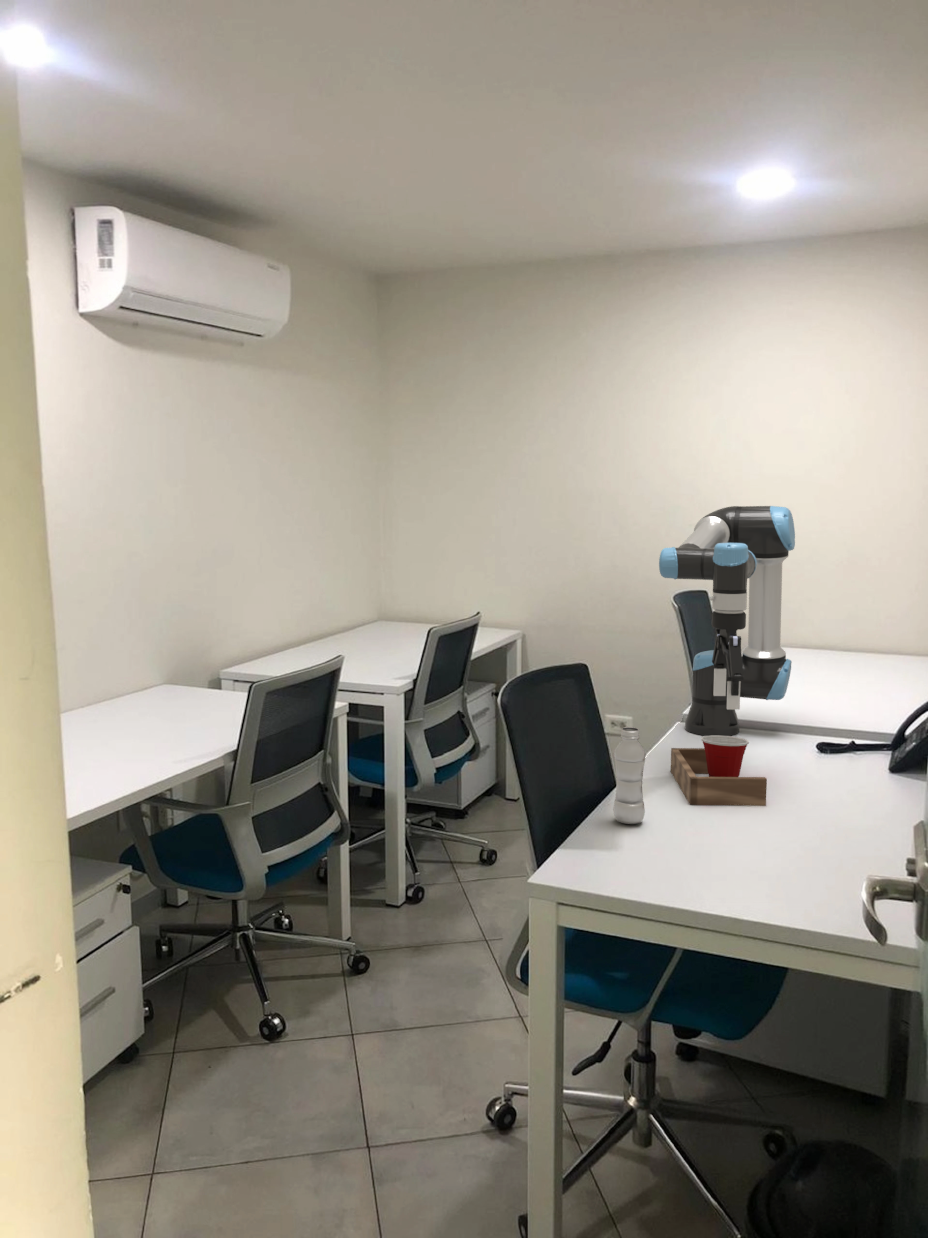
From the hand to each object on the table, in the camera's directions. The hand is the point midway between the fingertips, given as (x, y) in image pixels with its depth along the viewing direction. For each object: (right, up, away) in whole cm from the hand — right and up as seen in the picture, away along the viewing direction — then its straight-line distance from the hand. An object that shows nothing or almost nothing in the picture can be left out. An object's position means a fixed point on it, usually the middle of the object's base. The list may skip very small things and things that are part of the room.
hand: (726, 702), depth 219 cm
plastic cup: (0, -20, +3) cm, 21 cm away
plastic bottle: (-26, -24, -20) cm, 40 cm away
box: (-1, -20, +3) cm, 20 cm away
